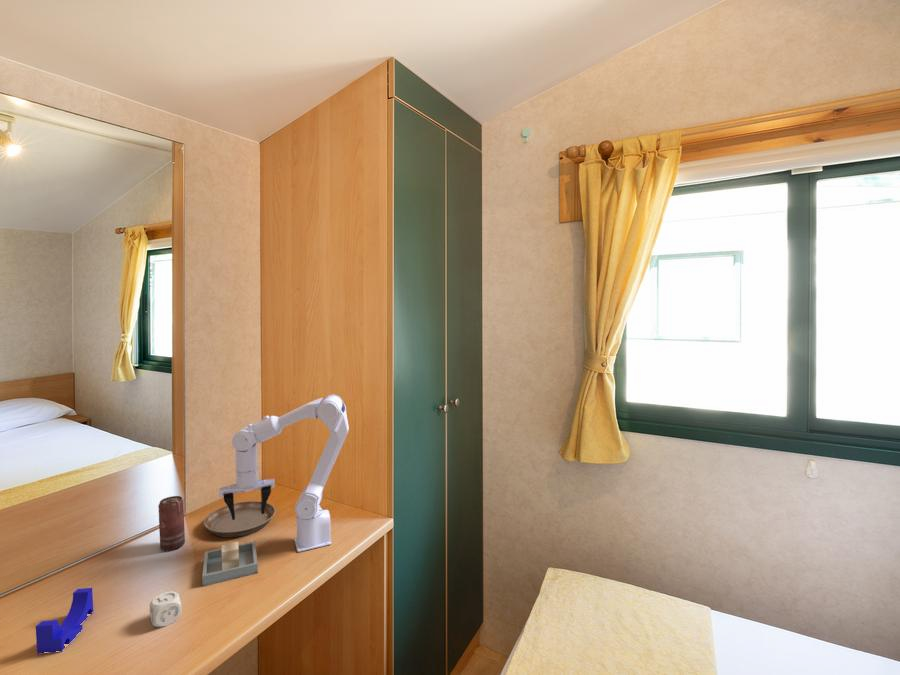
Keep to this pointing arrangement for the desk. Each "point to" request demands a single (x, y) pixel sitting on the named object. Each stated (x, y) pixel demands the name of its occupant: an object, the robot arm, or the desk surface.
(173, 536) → the can
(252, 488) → the robot arm
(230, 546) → the block
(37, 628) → the blue curved piece
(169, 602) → the die
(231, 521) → the plant saucer
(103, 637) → the desk surface
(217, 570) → the tray
